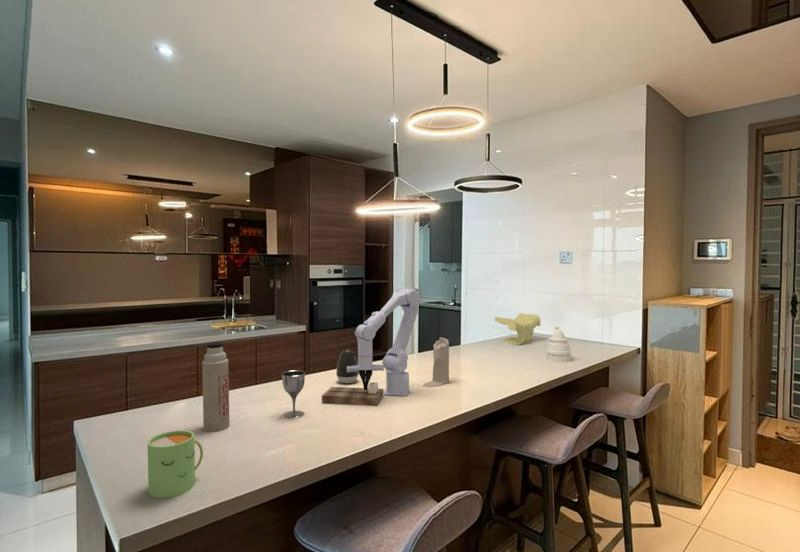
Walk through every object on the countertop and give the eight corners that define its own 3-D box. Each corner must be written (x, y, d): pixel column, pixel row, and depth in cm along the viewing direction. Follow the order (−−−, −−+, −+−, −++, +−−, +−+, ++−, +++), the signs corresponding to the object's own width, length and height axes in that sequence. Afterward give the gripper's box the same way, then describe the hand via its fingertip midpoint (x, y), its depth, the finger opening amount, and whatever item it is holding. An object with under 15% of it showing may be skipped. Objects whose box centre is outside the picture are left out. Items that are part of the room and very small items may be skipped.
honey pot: (542, 357, 245) (542, 326, 244) (563, 356, 246) (563, 325, 246) (552, 362, 232) (552, 329, 232) (575, 362, 234) (575, 329, 233)
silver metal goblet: (285, 419, 150) (284, 377, 150) (280, 412, 157) (280, 372, 157) (307, 415, 154) (307, 374, 153) (302, 409, 161) (301, 369, 161)
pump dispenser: (355, 385, 191) (355, 351, 190) (333, 384, 193) (332, 351, 192) (362, 379, 201) (361, 347, 200) (340, 378, 203) (340, 346, 202)
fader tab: (378, 390, 172) (377, 382, 172) (375, 393, 168) (375, 385, 168) (370, 390, 173) (370, 382, 173) (368, 393, 169) (368, 385, 169)
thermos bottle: (234, 425, 145) (233, 343, 144) (213, 433, 139) (211, 347, 138) (219, 420, 150) (218, 340, 149) (198, 428, 143) (196, 344, 142)
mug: (158, 503, 98) (157, 451, 98) (142, 487, 105) (141, 439, 105) (212, 482, 108) (211, 434, 107) (195, 469, 115) (194, 424, 114)
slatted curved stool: (515, 347, 275) (515, 319, 274) (494, 343, 287) (494, 316, 286) (540, 341, 295) (540, 315, 294) (520, 338, 307) (520, 313, 306)
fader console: (383, 396, 176) (383, 388, 176) (377, 405, 164) (377, 397, 164) (331, 393, 179) (331, 386, 179) (322, 403, 168) (321, 395, 167)
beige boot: (419, 384, 192) (419, 340, 191) (440, 379, 201) (440, 336, 200) (430, 388, 186) (430, 342, 186) (452, 382, 196) (452, 338, 195)
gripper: (382, 352, 176) (382, 385, 176) (346, 353, 173) (346, 387, 174) (384, 356, 169) (384, 390, 169) (347, 357, 166) (347, 392, 167)
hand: (365, 389), depth 171 cm, fingers closed
